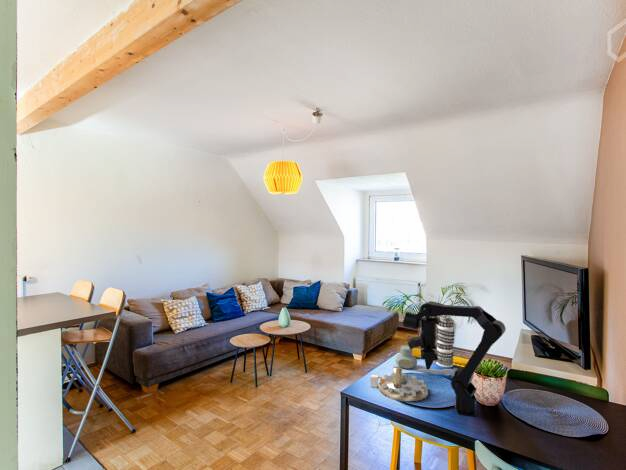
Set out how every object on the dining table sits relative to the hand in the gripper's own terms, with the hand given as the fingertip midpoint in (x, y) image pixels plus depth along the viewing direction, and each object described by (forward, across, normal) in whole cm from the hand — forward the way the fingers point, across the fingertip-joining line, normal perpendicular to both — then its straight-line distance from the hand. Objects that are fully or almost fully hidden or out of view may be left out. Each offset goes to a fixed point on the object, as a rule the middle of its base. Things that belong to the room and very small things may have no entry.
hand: (427, 369), depth 145 cm
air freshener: (+13, -33, -9) cm, 37 cm away
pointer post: (+12, -5, -22) cm, 26 cm away
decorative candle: (+13, -43, +11) cm, 46 cm away
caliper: (+13, -26, +6) cm, 30 cm away
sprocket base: (+12, -5, -10) cm, 17 cm away
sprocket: (+11, -5, -10) cm, 16 cm away
